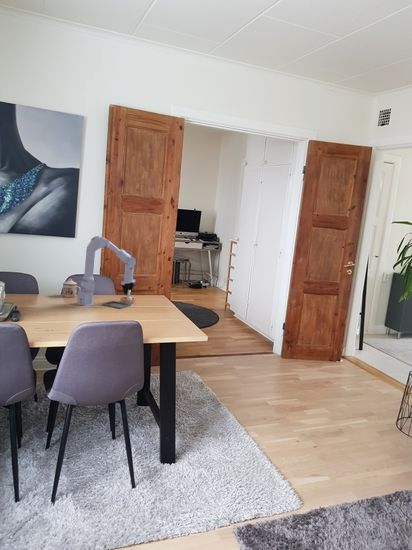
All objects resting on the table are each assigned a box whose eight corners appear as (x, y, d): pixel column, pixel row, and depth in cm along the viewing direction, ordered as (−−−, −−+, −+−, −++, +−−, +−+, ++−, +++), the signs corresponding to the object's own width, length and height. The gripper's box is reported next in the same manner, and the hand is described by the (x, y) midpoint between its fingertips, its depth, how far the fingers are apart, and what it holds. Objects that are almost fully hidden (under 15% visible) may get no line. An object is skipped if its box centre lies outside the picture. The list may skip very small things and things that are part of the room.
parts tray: (120, 309, 263) (120, 307, 263) (102, 305, 268) (102, 303, 268) (131, 306, 274) (131, 304, 274) (113, 302, 279) (113, 300, 279)
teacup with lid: (60, 296, 283) (61, 279, 281) (65, 294, 292) (66, 277, 290) (77, 298, 282) (78, 281, 281) (82, 296, 291) (83, 279, 290)
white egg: (129, 303, 279) (130, 297, 278) (125, 302, 281) (125, 296, 280) (132, 303, 282) (133, 297, 282) (128, 302, 284) (128, 296, 283)
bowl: (130, 305, 277) (130, 300, 276) (117, 303, 280) (117, 298, 280) (138, 303, 286) (138, 298, 286) (125, 300, 290) (126, 296, 289)
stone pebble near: (128, 296, 282) (128, 290, 281) (123, 295, 283) (124, 289, 283) (131, 295, 285) (131, 289, 285) (126, 294, 287) (127, 289, 286)
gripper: (128, 276, 274) (126, 296, 276) (139, 274, 287) (138, 293, 289) (118, 274, 277) (117, 294, 279) (130, 272, 290) (129, 292, 292)
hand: (127, 294), depth 284 cm, fingers closed on stone pebble near, 4 cm apart
